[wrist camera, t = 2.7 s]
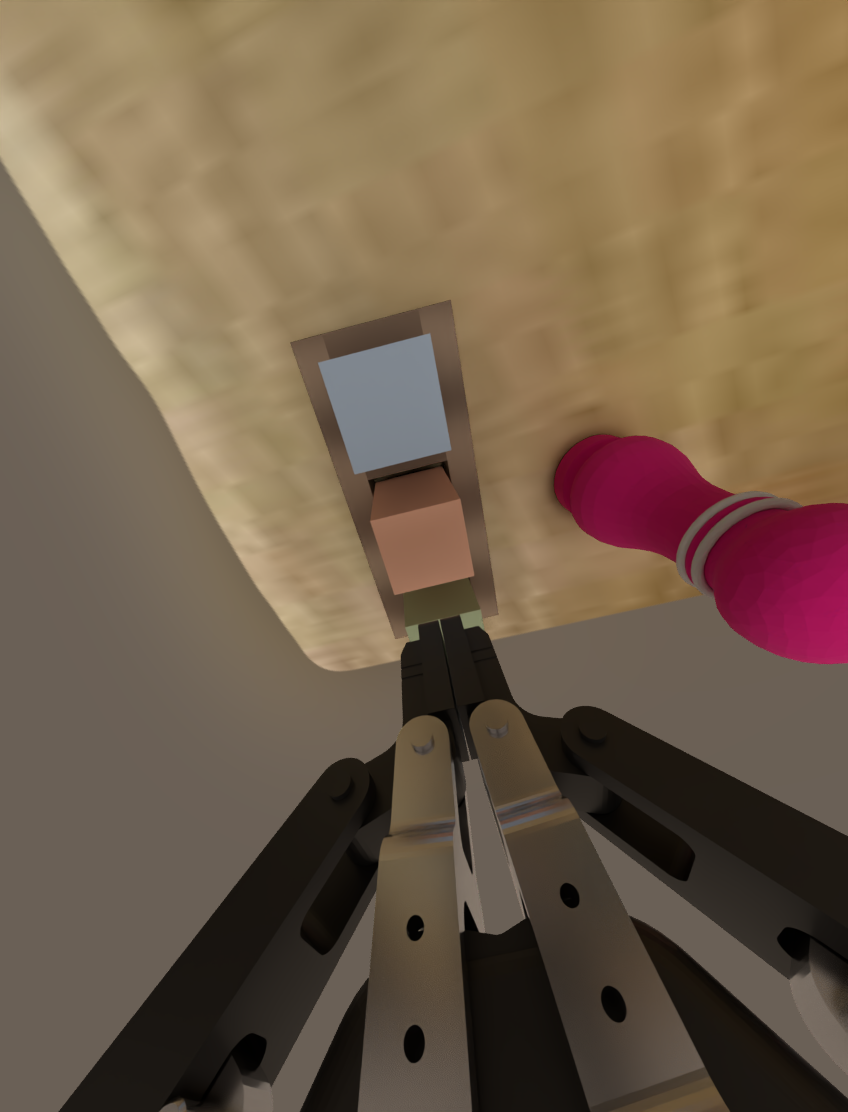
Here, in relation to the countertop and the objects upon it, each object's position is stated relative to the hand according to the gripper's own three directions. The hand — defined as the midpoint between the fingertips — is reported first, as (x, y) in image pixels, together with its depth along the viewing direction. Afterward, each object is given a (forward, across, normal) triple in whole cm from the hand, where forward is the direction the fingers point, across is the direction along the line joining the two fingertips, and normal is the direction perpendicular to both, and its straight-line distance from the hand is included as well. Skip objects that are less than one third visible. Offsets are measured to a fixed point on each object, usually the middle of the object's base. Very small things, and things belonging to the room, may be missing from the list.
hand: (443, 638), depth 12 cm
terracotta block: (+14, 0, 0) cm, 14 cm away
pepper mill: (+16, -14, +2) cm, 22 cm away
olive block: (+14, 0, +7) cm, 15 cm away
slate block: (+14, 0, -7) cm, 15 cm away
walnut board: (+16, 0, 0) cm, 16 cm away
